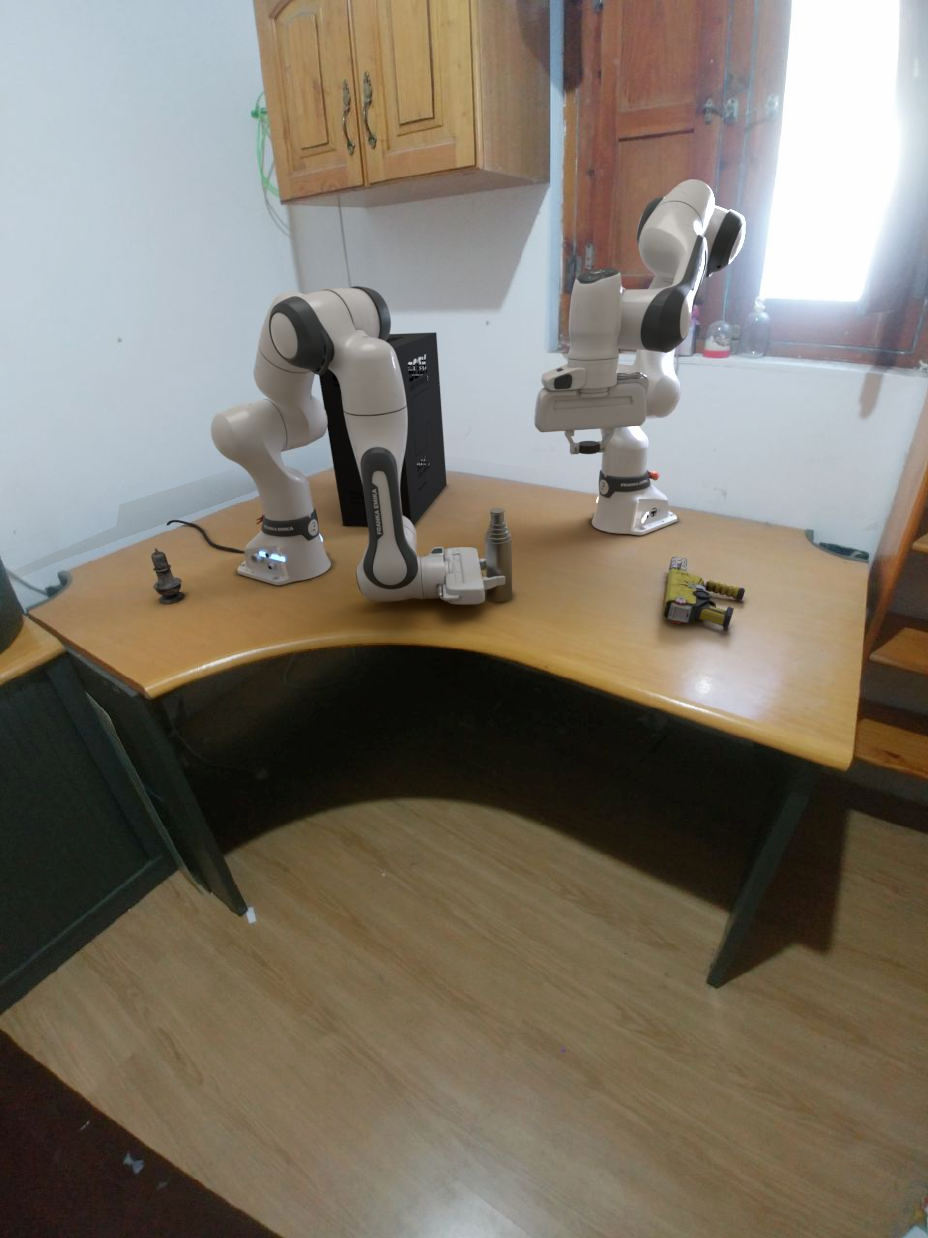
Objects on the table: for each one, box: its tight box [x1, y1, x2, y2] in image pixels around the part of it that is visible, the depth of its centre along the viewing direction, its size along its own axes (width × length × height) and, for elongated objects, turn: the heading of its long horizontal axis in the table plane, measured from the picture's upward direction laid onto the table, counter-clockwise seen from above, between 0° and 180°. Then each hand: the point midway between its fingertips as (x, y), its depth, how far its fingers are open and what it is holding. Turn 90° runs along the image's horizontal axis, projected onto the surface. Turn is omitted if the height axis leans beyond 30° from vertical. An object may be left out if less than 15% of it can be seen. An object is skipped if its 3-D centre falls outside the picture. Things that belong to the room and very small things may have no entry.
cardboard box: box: [318, 332, 448, 527], centre depth 171 cm, size 38×20×45 cm, turn 167°
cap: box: [577, 440, 599, 455], centre depth 113 cm, size 4×4×2 cm
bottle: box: [484, 507, 513, 603], centre depth 123 cm, size 5×5×19 cm
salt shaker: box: [150, 547, 185, 604], centre depth 132 cm, size 6×6×12 cm
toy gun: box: [662, 556, 746, 632], centre depth 120 cm, size 5×24×15 cm
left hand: (503, 572), depth 125 cm, fingers closed on bottle, 5 cm apart
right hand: (587, 452), depth 114 cm, fingers closed on cap, 4 cm apart
